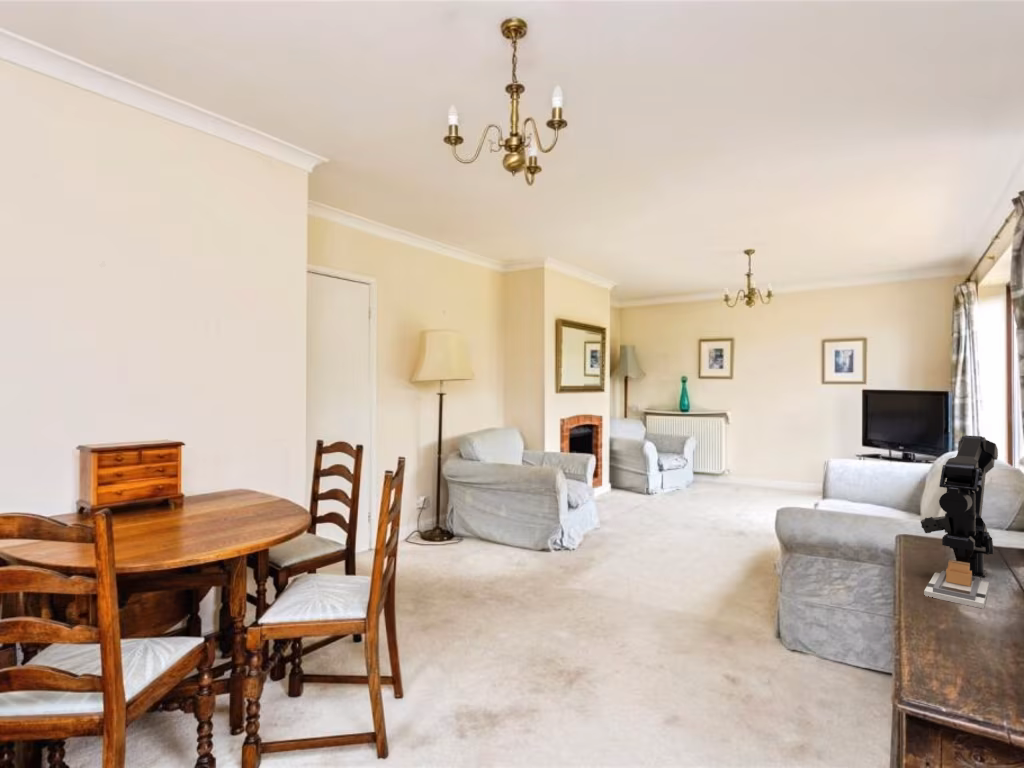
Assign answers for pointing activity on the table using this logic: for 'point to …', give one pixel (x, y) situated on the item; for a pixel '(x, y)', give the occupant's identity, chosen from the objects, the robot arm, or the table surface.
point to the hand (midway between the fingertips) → (961, 568)
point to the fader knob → (959, 573)
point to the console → (958, 590)
